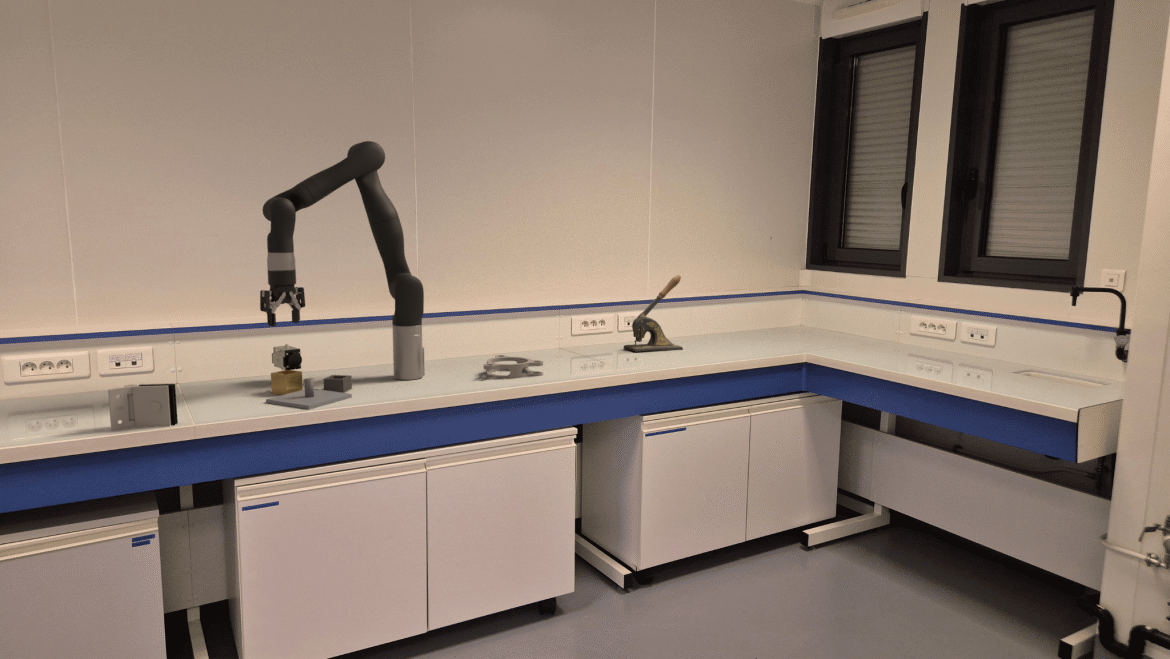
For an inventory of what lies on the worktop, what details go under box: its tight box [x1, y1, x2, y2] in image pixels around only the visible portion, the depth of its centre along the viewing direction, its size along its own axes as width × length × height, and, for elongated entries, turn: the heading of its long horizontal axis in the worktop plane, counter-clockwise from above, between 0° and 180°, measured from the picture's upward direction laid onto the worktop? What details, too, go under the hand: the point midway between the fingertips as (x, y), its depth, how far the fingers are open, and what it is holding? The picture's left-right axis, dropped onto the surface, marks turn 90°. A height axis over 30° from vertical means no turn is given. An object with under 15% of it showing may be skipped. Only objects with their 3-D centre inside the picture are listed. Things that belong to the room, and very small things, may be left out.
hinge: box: [107, 382, 179, 432], centre depth 183 cm, size 14×5×10 cm, turn 113°
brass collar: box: [270, 369, 304, 396], centre depth 220 cm, size 6×6×6 cm
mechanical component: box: [483, 354, 544, 380], centre depth 253 cm, size 20×19×5 cm
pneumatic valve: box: [271, 343, 303, 371], centre depth 234 cm, size 6×12×12 cm, turn 45°
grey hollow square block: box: [323, 374, 353, 393], centre depth 224 cm, size 6×6×4 cm
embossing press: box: [622, 274, 684, 353], centre depth 302 cm, size 11×24×30 cm, turn 113°
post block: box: [265, 377, 353, 410], centre depth 211 cm, size 16×16×6 cm
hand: (284, 324), depth 218 cm, fingers open, 8 cm apart
